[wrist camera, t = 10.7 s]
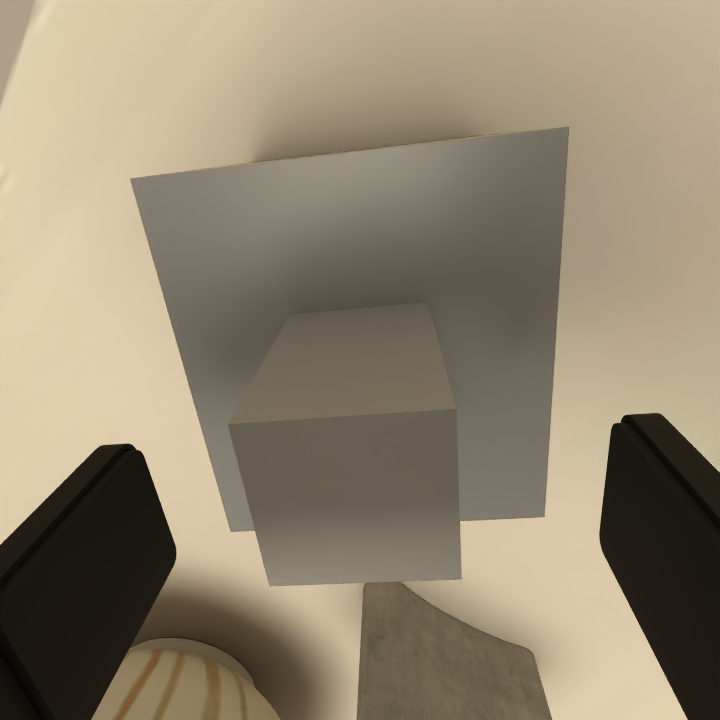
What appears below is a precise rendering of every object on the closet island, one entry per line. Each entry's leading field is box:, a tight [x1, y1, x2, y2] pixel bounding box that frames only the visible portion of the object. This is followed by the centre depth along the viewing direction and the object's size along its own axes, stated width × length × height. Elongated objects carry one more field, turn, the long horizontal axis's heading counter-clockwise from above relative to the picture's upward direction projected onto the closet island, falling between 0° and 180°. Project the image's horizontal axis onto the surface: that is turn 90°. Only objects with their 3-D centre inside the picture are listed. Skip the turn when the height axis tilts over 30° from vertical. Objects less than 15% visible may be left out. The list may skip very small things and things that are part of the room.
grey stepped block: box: [130, 127, 569, 586], centre depth 18 cm, size 11×12×19 cm
